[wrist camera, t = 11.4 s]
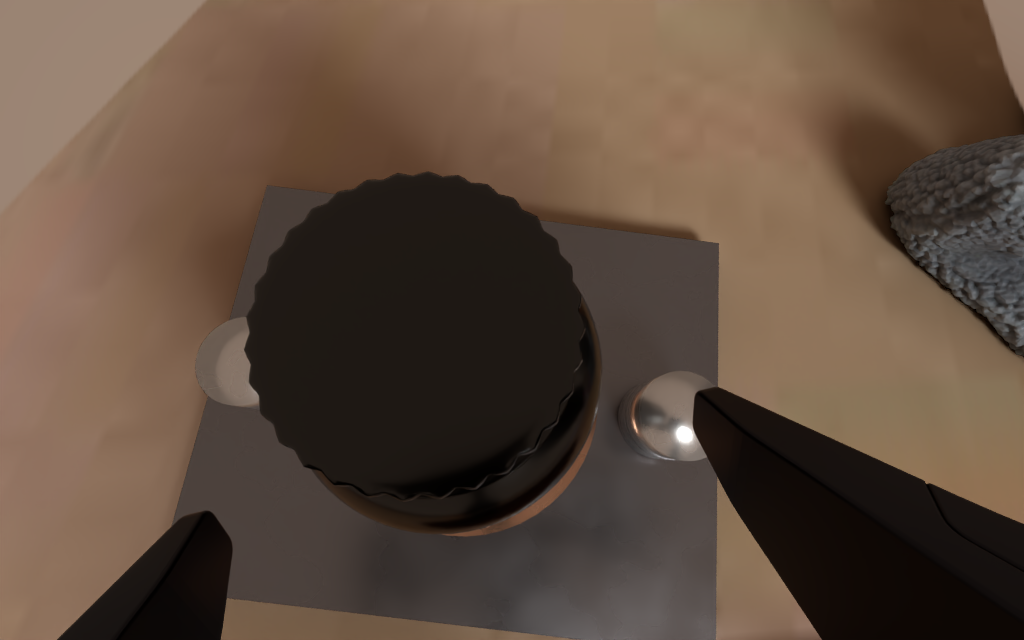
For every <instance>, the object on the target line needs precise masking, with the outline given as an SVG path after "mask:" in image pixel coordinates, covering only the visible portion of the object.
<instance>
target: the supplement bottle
mask: <svg viewBox="0 0 1024 640" xmlns="http://www.w3.org/2000/svg"><path fill="white" fill-rule="evenodd" d="M254 298H255V302H254V303H253V305H252V307H251V308H250V310H249V312H248V314H247V316H246V319H247V325H248V327H249V335H248V338H247V341H246V344H245V348H244V351H245V354H246V356H247V358H248V360H249V362H250V364H251V366H250V372H249V384H250V385H251V387H252V388H253V390H255V391H256V392H257V394H258V395H259V407H260V414H261V415H262V416H263V417H264V418H265V419H266V420H268V421H270V422H271V423H272V424H273V425H274V428H275V432H276V436H277V438H278V441H279V443H281V444H282V445H284V446H286V447H288V448H291V449H293V450H295V452H296V454H297V456H298V458H299V460H300V462H301V463H302V465H303V466H304V467H305V468H309V469H311V470H312V472H313V473H314V474H315V476H316V477H317V478H318V479H319V480H320V482H321V483H322V484H323V485H324V486H325V487H326V488H327V489H328V490H329V491H330V492H331V493H332V494H333V495H334V496H336V497H337V498H338V499H339V500H340V501H341V502H343V503H344V504H346V505H347V506H349V507H350V508H351V509H353V510H354V511H356V512H358V513H360V514H361V515H363V516H365V517H367V518H369V519H371V520H373V521H376V522H378V523H380V524H383V525H385V526H389V527H392V528H395V529H399V530H403V531H408V532H414V533H421V534H434V535H436V534H455V533H463V532H469V531H473V530H478V529H482V528H486V527H488V526H491V525H494V524H497V523H499V522H502V521H504V520H506V519H508V518H510V517H512V516H514V515H517V514H518V513H520V512H521V511H523V510H525V509H526V508H528V507H530V506H531V505H533V504H534V503H535V502H536V501H538V500H539V499H540V498H542V497H543V496H544V495H545V494H546V493H548V492H549V491H550V490H551V489H552V488H553V487H554V486H555V485H556V484H557V483H558V482H559V481H560V480H561V478H562V477H563V476H564V475H565V474H566V473H567V472H568V470H569V469H570V467H571V466H572V465H573V463H574V462H575V460H576V459H577V457H578V456H579V454H580V452H581V450H582V449H583V447H584V445H585V443H586V441H587V439H588V436H589V434H590V432H591V430H592V427H593V424H594V421H595V418H596V415H597V411H598V406H599V402H600V396H601V388H602V355H601V348H600V342H599V337H598V333H597V329H596V326H595V322H594V320H593V317H592V314H591V312H590V309H589V307H588V305H587V303H586V301H585V299H584V297H583V295H582V294H581V292H580V290H579V289H578V287H577V286H576V284H575V283H574V281H573V270H572V266H571V265H570V263H569V262H568V261H567V260H566V259H565V258H564V257H563V256H562V255H561V254H560V251H559V244H558V241H557V239H555V238H554V237H553V236H552V235H550V234H549V233H547V232H546V231H544V230H543V228H542V225H541V222H540V221H539V219H538V217H537V216H535V215H533V214H531V213H529V212H526V211H524V210H522V208H521V207H520V206H519V204H518V202H517V201H516V200H515V199H514V198H512V197H509V196H505V195H500V194H498V193H497V192H496V191H495V190H494V189H493V188H491V187H490V186H489V185H488V184H482V183H471V182H469V181H467V180H466V179H465V178H463V177H461V176H459V175H454V176H445V177H442V176H439V175H437V174H434V173H431V172H424V173H420V174H417V175H414V176H411V175H406V174H400V173H397V174H394V175H392V176H390V177H388V178H386V179H384V180H366V181H365V182H363V183H362V184H360V185H359V186H358V187H356V188H355V189H352V190H344V191H339V192H337V193H336V194H335V195H334V196H333V197H332V198H331V199H330V200H329V201H328V202H327V203H325V204H322V205H319V206H317V207H315V208H312V209H311V210H310V212H309V213H308V214H307V216H306V218H305V220H304V221H303V222H302V223H300V224H298V225H296V226H295V227H293V228H292V229H290V230H289V231H288V232H287V234H286V237H285V240H284V243H283V245H282V246H281V247H279V248H278V249H277V250H276V251H275V252H273V253H272V254H271V255H270V256H269V259H268V263H267V269H266V272H265V274H264V275H263V276H262V277H261V278H260V279H259V281H258V282H257V283H256V285H255V290H254Z"/></svg>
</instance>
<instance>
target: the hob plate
mask: <svg viewBox="0 0 1024 640" xmlns="http://www.w3.org/2000/svg"><path fill="white" fill-rule="evenodd" d="M334 195H335V194H331V193H323V192H315V191H307V190H299V189H292V188H284V187H276V186H268V185H267V188H266V191H265V195H264V198H263V202H262V205H261V209H260V213H259V216H258V220H257V223H256V227H255V230H254V234H253V238H252V241H251V245H250V248H249V252H248V255H247V259H246V263H245V266H244V270H243V273H242V277H241V280H240V284H239V287H238V291H237V295H236V298H235V302H234V305H233V309H232V312H231V316H230V320H229V321H227V322H224V323H223V324H221V325H219V326H218V327H216V328H215V329H214V330H213V331H212V332H211V333H209V335H208V336H207V337H206V338H205V340H204V341H203V343H202V344H201V346H200V348H199V351H198V353H197V357H196V364H195V370H196V377H197V380H198V383H199V385H200V386H201V388H202V389H203V391H204V392H205V393H206V394H207V395H208V398H207V402H206V405H205V409H204V412H203V416H202V420H201V423H200V427H199V430H198V434H197V437H196V441H195V445H194V448H193V452H192V455H191V459H190V462H189V466H188V470H187V473H186V477H185V480H184V484H183V487H182V491H181V495H180V498H179V502H178V505H177V509H176V512H175V516H174V520H173V523H172V526H173V525H174V524H175V523H176V522H177V521H178V520H179V519H180V518H181V517H183V516H185V515H188V514H192V513H196V512H200V511H204V510H208V511H211V512H213V514H214V515H215V516H216V518H217V519H218V520H219V522H220V523H221V525H222V526H223V528H224V529H225V531H226V532H227V533H228V535H229V536H230V538H231V541H232V545H233V554H232V562H231V569H230V576H229V584H228V591H227V598H232V599H240V600H249V601H257V602H266V603H274V604H283V605H291V606H300V607H308V608H317V609H325V610H334V611H342V612H351V613H359V614H368V615H376V616H385V617H393V618H402V619H410V620H419V621H427V622H436V623H444V624H453V625H461V626H470V627H478V628H487V629H495V630H504V631H512V632H521V633H529V634H538V635H546V636H554V637H563V638H571V639H580V640H716V549H717V475H716V473H715V471H714V469H713V467H712V466H711V464H710V462H709V460H708V458H707V456H706V454H705V452H704V450H703V448H702V446H701V445H700V443H699V441H698V439H697V437H696V435H695V432H694V429H693V424H692V421H693V408H694V397H695V394H696V392H697V391H699V390H703V389H707V388H711V387H718V277H719V243H713V242H705V241H697V240H689V239H682V238H674V237H666V236H658V235H650V234H643V233H635V232H627V231H619V230H611V229H604V228H596V227H588V226H580V225H572V224H565V223H557V222H549V221H541V220H539V221H540V222H541V225H542V228H543V230H544V231H546V232H547V233H549V234H550V235H552V236H553V237H554V238H555V239H557V241H558V244H559V251H560V254H561V255H562V256H563V257H564V258H565V259H566V260H567V261H568V262H569V263H570V265H571V266H572V270H573V281H574V283H575V284H576V286H577V287H578V289H579V290H580V292H581V294H582V295H583V297H584V299H585V301H586V303H587V305H588V307H589V309H590V312H591V314H592V317H593V320H594V322H595V326H596V329H597V333H598V337H599V342H600V348H601V355H602V388H601V396H600V402H599V406H598V411H597V415H596V418H595V421H594V424H593V427H592V430H591V432H590V434H589V436H588V439H587V441H586V443H585V445H584V447H583V449H582V450H581V452H580V454H579V456H578V457H577V459H576V460H575V462H574V463H573V465H572V466H571V467H570V469H569V470H568V472H567V473H566V474H565V475H564V476H563V477H562V478H561V480H560V481H559V482H558V483H557V484H556V485H555V486H554V487H553V488H552V489H551V490H550V491H549V492H548V493H546V494H545V495H544V496H543V497H542V498H540V499H539V500H538V501H536V502H535V503H534V504H533V505H531V506H530V507H528V508H526V509H525V510H523V511H521V512H520V513H518V514H517V515H514V516H512V517H510V518H508V519H506V520H504V521H502V522H499V523H497V524H494V525H491V526H488V527H486V528H482V529H478V530H473V531H469V532H463V533H455V534H436V535H434V534H421V533H414V532H408V531H403V530H399V529H395V528H392V527H389V526H385V525H383V524H380V523H378V522H376V521H373V520H371V519H369V518H367V517H365V516H363V515H361V514H360V513H358V512H356V511H354V510H353V509H351V508H350V507H349V506H347V505H346V504H344V503H343V502H341V501H340V500H339V499H338V498H337V497H336V496H334V495H333V494H332V493H331V492H330V491H329V490H328V489H327V488H326V487H325V486H324V485H323V484H322V483H321V482H320V480H319V479H318V478H317V477H316V476H315V474H314V473H313V472H312V470H311V469H309V468H305V467H304V466H303V465H302V463H301V462H300V460H299V458H298V456H297V454H296V452H295V450H293V449H291V448H288V447H286V446H284V445H282V444H281V443H279V441H278V438H277V436H276V432H275V428H274V425H273V424H272V423H271V422H270V421H268V420H266V419H265V418H264V417H263V416H262V415H261V414H260V407H259V395H258V394H257V392H256V391H255V390H253V388H252V387H251V385H250V384H249V372H250V366H251V364H250V362H249V360H248V358H247V356H246V354H245V351H244V348H245V344H246V341H247V338H248V335H249V327H248V325H247V319H246V316H247V314H248V312H249V310H250V308H251V307H252V305H253V303H254V302H255V298H254V290H255V285H256V283H257V282H258V281H259V279H260V278H261V277H262V276H263V275H264V274H265V272H266V269H267V263H268V259H269V256H270V255H271V254H272V253H273V252H275V251H276V250H277V249H278V248H279V247H281V246H282V245H283V243H284V240H285V237H286V234H287V232H288V231H289V230H290V229H292V228H293V227H295V226H296V225H298V224H300V223H302V222H303V221H304V220H305V218H306V216H307V214H308V213H309V212H310V210H311V209H312V208H315V207H317V206H319V205H322V204H325V203H327V202H328V201H329V200H330V199H331V198H332V197H333V196H334Z"/></svg>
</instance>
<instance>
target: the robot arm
mask: <svg viewBox="0 0 1024 640" xmlns="http://www.w3.org/2000/svg"><path fill="white" fill-rule="evenodd" d="M692 424H693V429H694V432H695V435H696V437H697V439H698V441H699V443H700V445H701V446H702V448H703V450H704V452H705V454H706V456H707V458H708V460H709V462H710V464H711V466H712V467H713V469H714V471H715V473H716V475H717V477H718V479H719V481H720V483H721V485H722V487H723V488H724V490H725V492H726V494H727V496H728V498H729V499H730V501H731V503H732V505H733V506H734V508H735V509H736V511H737V513H738V514H739V516H740V517H741V519H742V520H743V522H744V523H745V525H746V526H747V528H748V529H749V531H750V532H751V534H752V535H753V537H754V538H755V540H756V541H757V543H758V544H759V546H760V547H761V549H762V550H763V552H764V553H765V555H766V556H767V558H768V559H769V561H770V562H771V564H772V565H773V567H774V568H775V570H776V571H777V573H778V574H779V576H780V577H781V579H782V580H783V582H784V583H785V585H786V586H787V588H788V589H789V591H790V592H791V594H792V595H793V597H794V598H795V600H796V601H797V603H798V604H799V606H800V607H801V609H802V610H803V612H804V613H805V615H806V616H807V618H808V619H809V621H810V622H811V624H812V625H813V627H814V628H815V630H816V631H817V633H818V634H819V636H820V637H821V639H822V640H1024V524H1023V523H1020V522H1018V521H1015V520H1013V519H1010V518H1008V517H1005V516H1003V515H1001V514H998V513H996V512H994V511H991V510H989V509H987V508H985V507H982V506H980V505H978V504H975V503H973V502H971V501H969V500H966V499H964V498H962V497H959V496H957V495H955V494H953V493H951V492H948V491H946V490H944V489H942V488H940V487H937V486H935V485H933V484H931V483H928V484H926V483H925V481H924V480H922V479H919V478H917V477H915V476H913V475H911V474H908V473H906V472H904V471H902V470H900V469H898V468H895V467H893V466H891V465H889V464H887V463H884V462H882V461H880V460H878V459H876V458H873V457H871V456H869V455H867V454H865V453H862V452H860V451H858V450H856V449H854V448H851V447H849V446H847V445H845V444H843V443H840V442H838V441H836V440H834V439H832V438H829V437H827V436H825V435H823V434H821V433H818V432H816V431H814V430H812V429H810V428H807V427H805V426H803V425H801V424H799V423H796V422H794V421H792V420H790V419H788V418H786V417H783V416H781V415H779V414H777V413H775V412H772V411H770V410H768V409H766V408H764V407H761V406H759V405H757V404H755V403H753V402H750V401H748V400H746V399H744V398H742V397H739V396H737V395H735V394H733V393H731V392H728V391H726V390H724V389H722V388H719V387H711V388H707V389H703V390H699V391H697V392H696V394H695V397H694V408H693V421H692ZM232 554H233V545H232V541H231V538H230V536H229V535H228V533H227V532H226V531H225V529H224V528H223V526H222V525H221V523H220V522H219V520H218V519H217V518H216V516H215V515H214V514H213V512H211V511H208V510H204V511H200V512H196V513H192V514H188V515H185V516H183V517H181V518H180V519H179V520H178V521H177V522H176V523H175V524H174V525H173V526H172V527H171V528H170V529H169V530H168V531H167V532H166V533H165V534H164V535H163V536H162V537H160V538H159V539H158V540H157V541H156V542H155V543H154V544H153V545H152V546H151V547H150V548H149V549H148V550H147V551H146V552H145V553H144V554H143V555H142V556H141V557H140V558H139V559H138V560H137V561H136V562H135V563H134V564H133V565H132V566H131V567H130V568H129V569H128V570H127V571H126V572H125V573H124V574H123V575H122V576H121V577H120V578H119V579H118V580H117V581H116V582H115V583H114V584H113V585H112V586H111V587H110V588H109V589H108V590H107V591H106V592H105V593H104V594H103V595H102V596H101V597H100V598H99V599H98V600H97V601H96V602H95V603H94V604H93V605H92V606H91V607H90V608H89V609H88V610H87V611H86V612H85V613H84V614H83V615H82V616H81V617H80V618H79V619H78V620H77V621H76V622H75V623H74V624H72V625H71V626H70V627H69V628H68V629H67V630H66V631H65V632H64V633H63V634H62V635H61V636H60V637H59V638H58V639H57V640H221V634H222V628H223V621H224V613H225V606H226V599H227V591H228V584H229V576H230V569H231V562H232Z"/></svg>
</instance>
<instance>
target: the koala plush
mask: <svg viewBox="0 0 1024 640" xmlns="http://www.w3.org/2000/svg"><path fill="white" fill-rule="evenodd" d="M888 189H889V190H888V191H887V194H888V195H887V196H888V198H887V200H886V201H885V204H886V205H891V208H892V209H891V210H892V211H893V212H894V216H892V217H891V218H890V220H891V222H892V225H891V228H893V229H894V230H896V231H897V235H898V236H899V237H900V239H901V242H902V243H904V245H905V248H906V249H907V252H908V253H909V254H910V255H911V256H912V257H913V258H914V259H915V260H917V261H919V265H920V266H925V269H926V271H928V272H929V273H931V274H932V275H933V277H935V278H937V279H938V280H939V281H940V283H941V284H943V285H945V286H946V287H948V288H950V289H951V290H952V293H953V294H954V295H955V296H956V297H960V299H961V300H962V301H963V302H964V303H965V304H967V305H969V306H971V307H972V308H973V309H976V311H977V312H978V313H980V314H982V315H983V316H984V317H987V319H988V320H989V322H990V323H991V324H992V325H993V327H994V328H995V329H996V330H997V333H998V334H999V335H1001V336H1002V337H1003V338H1004V340H1005V341H1007V342H1008V343H1009V347H1010V348H1011V349H1014V350H1015V353H1016V354H1017V355H1023V357H1024V134H1023V135H1022V134H1020V135H1017V136H1007V137H1005V136H1003V137H1000V138H996V139H988V140H984V141H981V142H978V143H974V144H971V145H962V146H960V147H950V148H947V149H941V150H939V151H937V152H936V153H935V154H931V155H929V156H927V157H926V158H924V159H921V160H919V161H917V162H914V163H913V164H912V165H911V166H910V167H909V168H906V169H905V170H904V171H903V172H902V173H901V174H899V177H898V178H897V180H896V181H894V182H893V185H891V186H889V187H888Z"/></svg>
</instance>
